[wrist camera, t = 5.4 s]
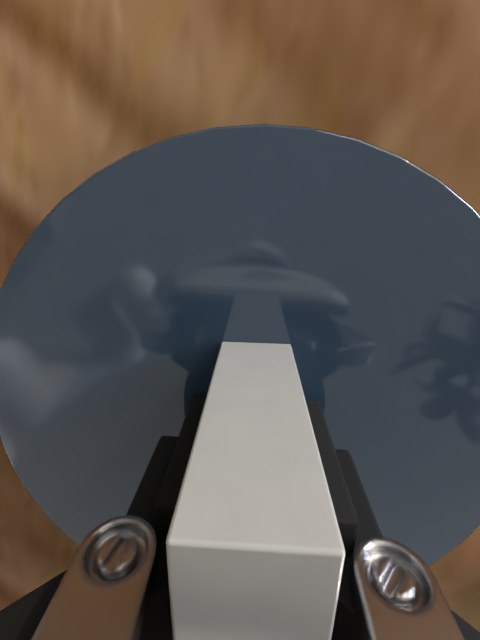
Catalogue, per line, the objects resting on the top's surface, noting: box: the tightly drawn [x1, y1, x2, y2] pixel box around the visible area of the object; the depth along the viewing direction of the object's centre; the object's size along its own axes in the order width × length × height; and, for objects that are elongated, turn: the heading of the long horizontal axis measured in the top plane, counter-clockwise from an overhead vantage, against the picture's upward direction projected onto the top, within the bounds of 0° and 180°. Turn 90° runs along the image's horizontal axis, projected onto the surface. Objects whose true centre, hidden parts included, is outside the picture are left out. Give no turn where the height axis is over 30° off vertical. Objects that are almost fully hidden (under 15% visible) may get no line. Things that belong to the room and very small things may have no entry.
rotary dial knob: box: [0, 124, 480, 640], centre depth 8 cm, size 17×17×7 cm
